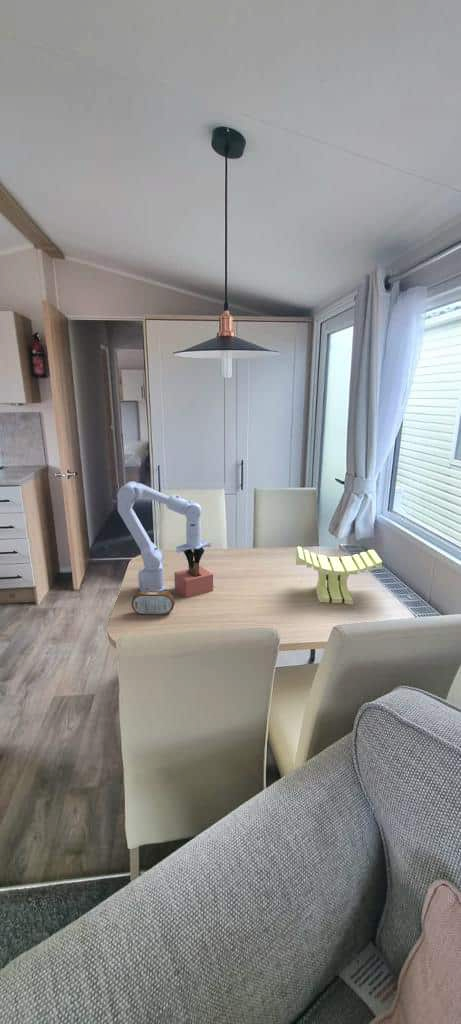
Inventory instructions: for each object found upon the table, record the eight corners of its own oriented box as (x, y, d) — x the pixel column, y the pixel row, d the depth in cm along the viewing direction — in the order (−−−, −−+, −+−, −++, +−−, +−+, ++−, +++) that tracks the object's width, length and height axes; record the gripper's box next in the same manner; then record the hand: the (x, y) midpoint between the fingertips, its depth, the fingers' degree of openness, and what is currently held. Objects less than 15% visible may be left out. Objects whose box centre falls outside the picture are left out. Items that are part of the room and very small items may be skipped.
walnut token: (194, 576, 170) (194, 564, 169) (188, 572, 174) (188, 561, 173) (199, 575, 171) (199, 563, 170) (193, 571, 175) (192, 560, 174)
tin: (174, 611, 156) (174, 590, 154) (174, 615, 153) (173, 593, 151) (132, 611, 155) (131, 589, 153) (131, 615, 152) (130, 593, 150)
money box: (186, 597, 167) (186, 580, 165) (174, 588, 175) (174, 572, 173) (213, 590, 173) (213, 574, 172) (200, 582, 181) (200, 566, 180)
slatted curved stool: (367, 588, 179) (371, 547, 174) (377, 605, 163) (382, 561, 159) (294, 584, 181) (296, 543, 176) (297, 601, 165) (299, 557, 161)
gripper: (181, 539, 161) (182, 573, 164) (214, 533, 169) (214, 566, 172) (173, 534, 167) (173, 567, 170) (205, 529, 175) (205, 560, 178)
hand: (193, 566), depth 172 cm, fingers closed on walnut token, 2 cm apart
